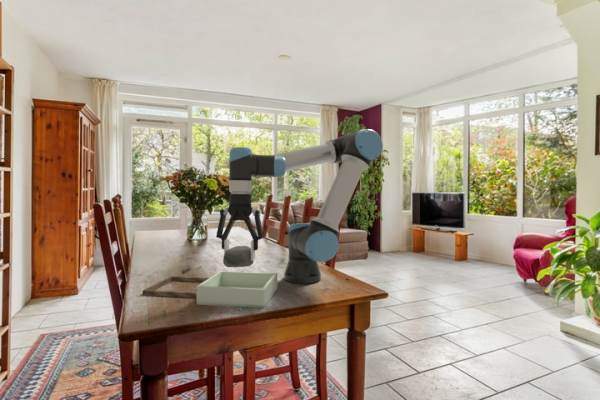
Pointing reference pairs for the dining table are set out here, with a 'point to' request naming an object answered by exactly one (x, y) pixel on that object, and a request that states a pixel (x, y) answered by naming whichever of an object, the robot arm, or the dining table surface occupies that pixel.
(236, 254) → the stone
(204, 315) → the dining table surface
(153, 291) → the frame
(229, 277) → the bin
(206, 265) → the dining table surface
